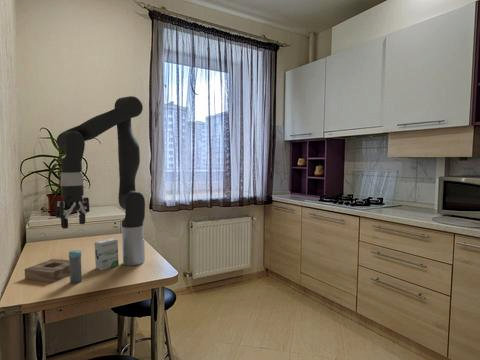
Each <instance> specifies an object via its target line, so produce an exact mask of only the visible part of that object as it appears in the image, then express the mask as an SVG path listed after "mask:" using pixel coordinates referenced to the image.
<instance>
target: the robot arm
mask: <svg viewBox="0 0 480 360" xmlns="http://www.w3.org/2000/svg"><path fill="white" fill-rule="evenodd" d="M143 107H144V106H143V102H142V101H141V99H139V97H136V96H133V95H130V96H129V95H128V96H124V97H119V98H117V99H116V101H115V102H114V108H113V109H111V110H109V111H106V112H104V113H101V114H98V115H96V116H93V117H91V118H89V119H87V120H86V121H84V122H82V123H81V124H79V125H76V126H74V127H72V128H71V127H70V128H68V129H66V130H64V131H62V132H61V133H59V134H58V135H57V138H56V144H57V147H58V148H59V149H61V150H63V151H65V155H64V157H62V158H61V160H60V172H61V175H60V187H61V188H60V190H61V191H60V192H61V197H62V198H63V199H62V200H61V201H59V200H58V201H55V218H56V219H57V218H58V219H60V225H61V226H60V227H61V228H62V229H66V230H67V229H69V218H68V217H69V216H70V214H71V213H72V212H75V211H76V212H78V221H79V222H78V223H79V224H80V225H85V224H86V222H87V221H86V214H87V213H89V212H90V211H91V210H90V199H89V197H88V196H87V197H84V194H85V193H84V176H83V165H82V164H83V163H82V161H83V157H84V153H85V147H86V144H85V143H86V141H91V140H93V139H95V138H96V137H97V138H98V137H99V136H100V135H102V134H103V133H105V132H107V131H108V130H110V129H112V128H113V127H116V130H117V154H118V155H117V156H118V172H119V173H118V176H119V177H118V178H119V182H118V183H119V184H118V186H119V187H118V204H119V206H120V208H121V209H122V210H124V213H125V214H124V215H125V216H124V218H123V219H122V220H121V235H122V236H121V239H122V240H121V243H122V244H121V245H122V264H123V266H128V267H129V266H139V265H141V264H143V263H144V262H145V260H146V259H145V256H146V255H145V240H144V221H145V215H146V212H145V211H146V199H145V196H144V195H143V193H142V192H140V191H137V189H136V177H137V173H138V170H139V167H140V162H141V154H140V153H141V151H140V146H139V145H140V144H139V142H138V140H137V139H136V137H135V134H134V132H133V129H132V119H133V118H136V117H138V116H140V115H141V114H142V112H143V110H144V108H143Z"/></svg>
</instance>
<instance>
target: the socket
mask: <svg viewBox="0 0 480 360" xmlns="http://www.w3.org/2000/svg"><path fill="white" fill-rule="evenodd" d="M67 277H70V263H69V259H64V258H62V259H61V258H52V259H49V260H46V261H44V262H43V261H42V262H40V263H38V264H34V265H32V266H29V267H26V268H24V280H30V279H31V280H32V281H38V282H44V283H45V282H46V283H55V282H57V281H60V280H62V279H64V278H67ZM31 280H30V281H31Z"/></svg>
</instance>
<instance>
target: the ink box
mask: <svg viewBox="0 0 480 360" xmlns="http://www.w3.org/2000/svg"><path fill="white" fill-rule="evenodd" d="M118 243H119V242H118V239H116V238H107V239H104V240H100V241H94V255H95V256H94V257H95V269H97V270H99V271H103V270H107V269H111V268H114V267H117V266H120V264H119V246H118V245H119V244H118Z"/></svg>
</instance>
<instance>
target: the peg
mask: <svg viewBox="0 0 480 360" xmlns="http://www.w3.org/2000/svg"><path fill="white" fill-rule="evenodd" d="M68 260H69V263H70V275H69V283H70V284H72V285H75V284H79V283H82V282H83V280H82V279H83V277H82V251H81V250H80V249H74V250H70V251H68Z"/></svg>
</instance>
